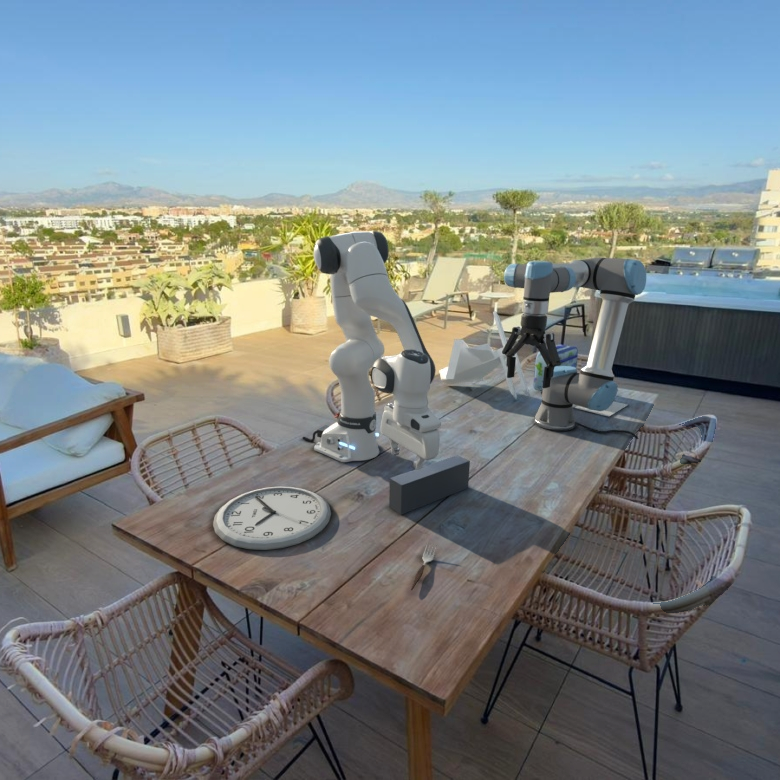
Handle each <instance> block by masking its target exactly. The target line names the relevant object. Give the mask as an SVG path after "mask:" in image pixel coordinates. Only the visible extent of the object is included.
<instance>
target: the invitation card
mask: <svg viewBox="0 0 780 780" xmlns="http://www.w3.org/2000/svg"><path fill="white" fill-rule="evenodd" d="M628 406H629V404H627V403H623V402H618V401H615V400H614V401H613V403H612V404H611V406H609V408H607V409H606V410H604V411H596V410H589V409H588V408H585V407H581V406H578V405H575V406H574V407H573V409H575V410H581V411H584V412H587V413H593V414H596V415H600V416H604V417H608V418H609V417H611V416H613V415H614V414H616V413H617V412H619V411H621V410H623V409H624V408H626V407H628Z"/></svg>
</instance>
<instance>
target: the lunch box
mask: <svg viewBox="0 0 780 780" xmlns="http://www.w3.org/2000/svg"><path fill="white" fill-rule="evenodd" d="M555 345H556V348H557V352H558V355H559V358H560V362H561V365H560V366H572V367H575V368H577V366H578V356H579V354H578V353H579V352H578V347H577V346H571V345H565V344H555ZM547 349H548V348H547ZM545 367H547V365H546V363H545V361H544V359H543V357H542V355H541V353H540V352H539V351H538V353H537V354H536V357H535V361H534V371H533V372H534V373H533V389H534V390H535V391H539V392H542V391H543V388H542V386H543V377H544V368H545Z"/></svg>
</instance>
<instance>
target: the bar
mask: <svg viewBox="0 0 780 780" xmlns="http://www.w3.org/2000/svg"><path fill="white" fill-rule="evenodd" d="M470 464H471V461H470V460H469V459H467V458H465V457H463V456H460V455H458V454H456V455H453V456H450V457H447V458H445V459H441V460H439V461H436V462H433V463H430V464H427V465H424V466H422V468H421V469H419V470H417V469H415V468H414V469H412V470H409V471H406V472H404V473H401V474H397V475H394V476H392V477H389V492H388V493H389V495H388V496H389V497H388V498H389V499H388V507H389V509H391V510H393V511H394V512H396V513H398V514H399V515H400V516H402V515H404V514H406V513H409V512H411V511H414V510H416V509H419V508H422V507H424V506H426V505H429V504H432V503H434V502H437V501H439V500H441V499H444V498H447V497H449V496H452V495H454V494H456V493H459V492H462V491H464V490H466V489H469V481H470V480H469V479H470V467H471V466H470Z"/></svg>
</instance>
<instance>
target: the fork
mask: <svg viewBox="0 0 780 780" xmlns="http://www.w3.org/2000/svg"><path fill="white" fill-rule="evenodd" d="M428 545H429V546H428ZM431 545H432V547H431ZM434 545H435V544H434V543H431V542H430V543H429V542H427V544H426V546H425V549H424V552H423V555H422V561H423V564H422V565H421V566H420V568H419V569H418V570H417V572H416V575H415V576H414V579H413V583H412V585H411V589H410V591H413V589H415V587H416V585H417V583H418V582H419V580H420V579H421V577H422V575H423V573H424V570H425V566H426V564H428V563H431V562H432V561H434V560H435V554H436V549H437V545H438V544H436V545H435V548H434ZM430 549H431V550H430ZM433 549H434V551H433Z"/></svg>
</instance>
